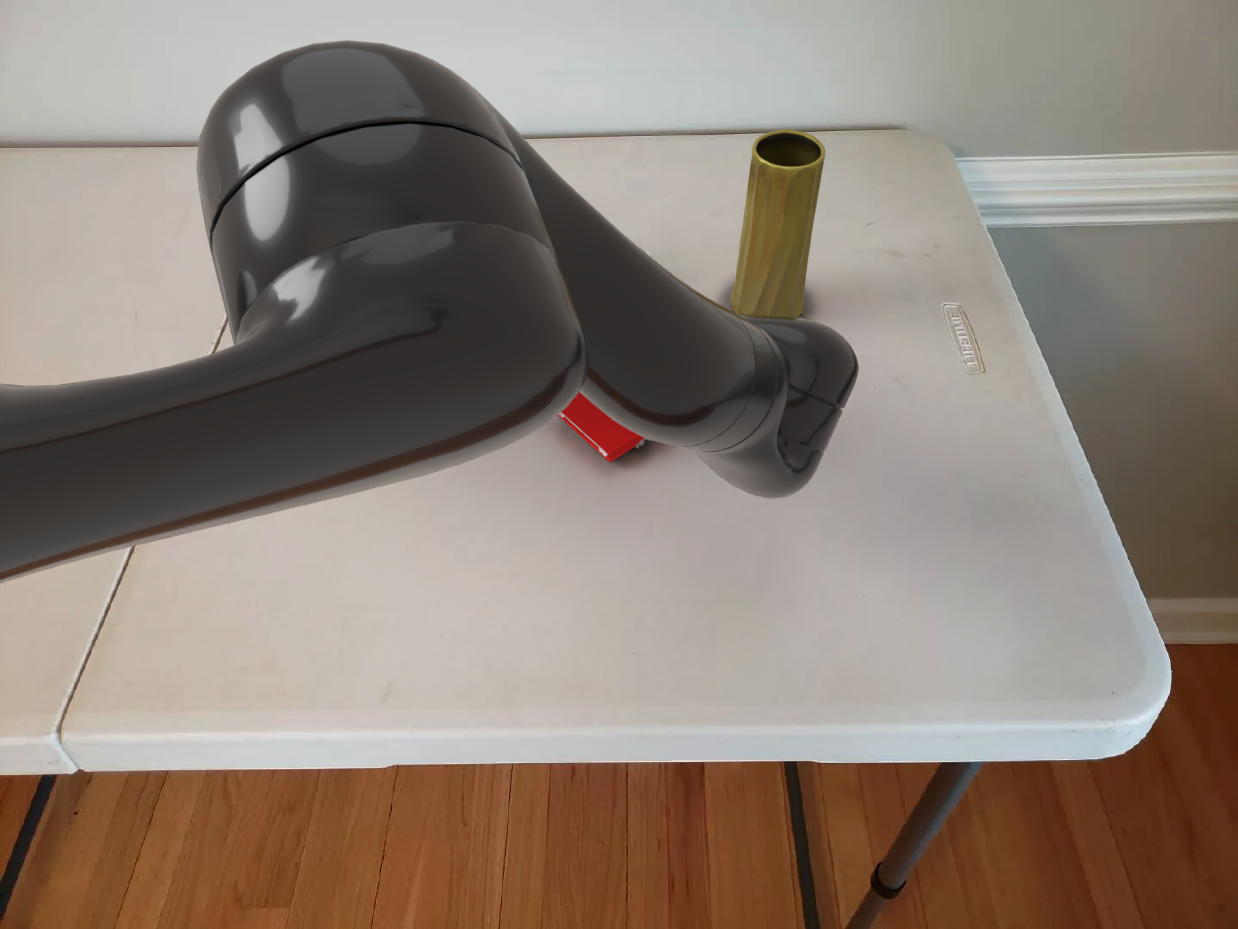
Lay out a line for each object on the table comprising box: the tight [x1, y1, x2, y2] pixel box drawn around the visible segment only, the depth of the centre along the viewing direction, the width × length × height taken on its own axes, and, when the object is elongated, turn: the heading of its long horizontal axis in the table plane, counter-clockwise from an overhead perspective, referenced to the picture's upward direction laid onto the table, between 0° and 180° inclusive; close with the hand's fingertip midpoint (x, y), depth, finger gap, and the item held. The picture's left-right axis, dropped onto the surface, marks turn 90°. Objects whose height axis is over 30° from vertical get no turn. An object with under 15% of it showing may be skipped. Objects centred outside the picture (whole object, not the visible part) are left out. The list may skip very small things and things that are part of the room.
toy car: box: [557, 392, 651, 464], centre depth 68 cm, size 6×12×4 cm, turn 130°
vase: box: [729, 129, 826, 318], centre depth 71 cm, size 6×6×14 cm
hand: (357, 230), depth 66 cm, fingers closed on pill bottle, 6 cm apart
